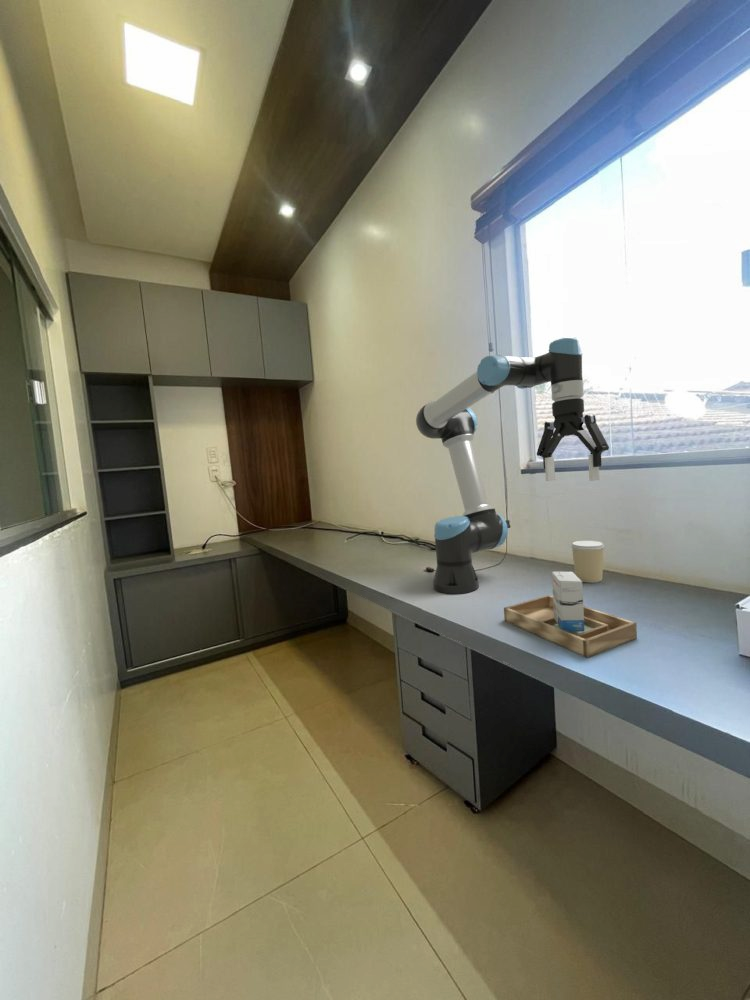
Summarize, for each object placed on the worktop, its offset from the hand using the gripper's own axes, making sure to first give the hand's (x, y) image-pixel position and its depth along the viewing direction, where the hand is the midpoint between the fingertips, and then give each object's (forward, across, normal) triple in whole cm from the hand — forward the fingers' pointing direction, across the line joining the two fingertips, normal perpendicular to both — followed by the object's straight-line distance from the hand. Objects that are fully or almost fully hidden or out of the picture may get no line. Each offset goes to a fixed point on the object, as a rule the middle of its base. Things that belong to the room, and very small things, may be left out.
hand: (571, 480), depth 106 cm
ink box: (+33, +10, -15) cm, 38 cm away
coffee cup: (+35, -14, +23) cm, 44 cm away
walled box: (+35, +8, -14) cm, 38 cm away
